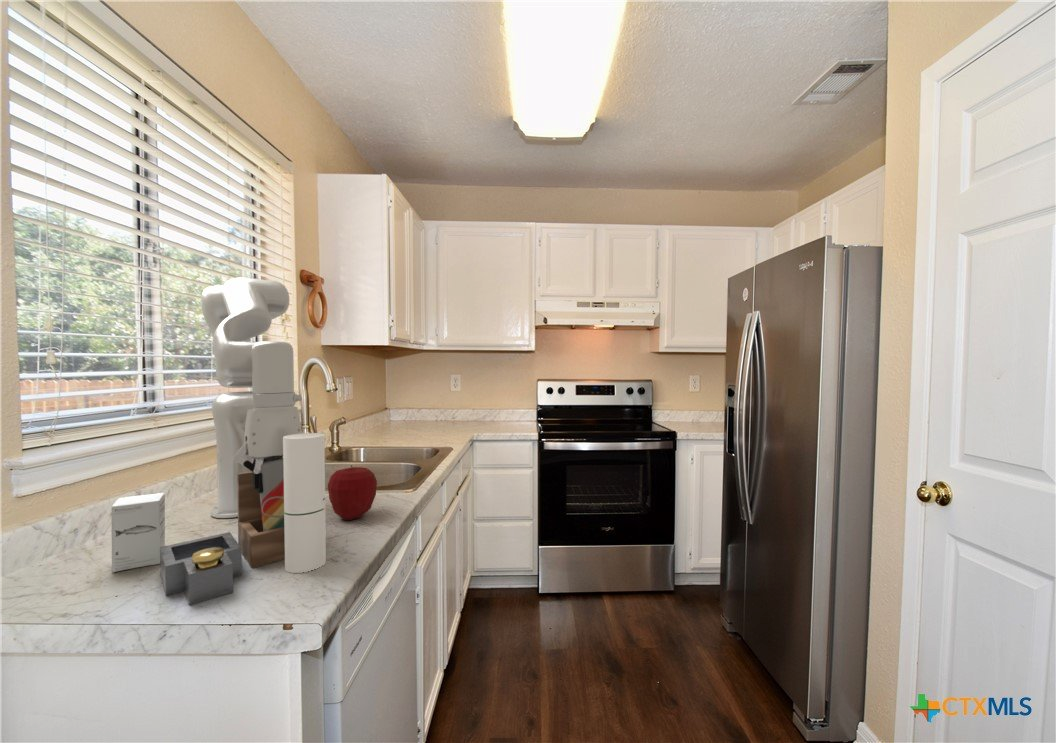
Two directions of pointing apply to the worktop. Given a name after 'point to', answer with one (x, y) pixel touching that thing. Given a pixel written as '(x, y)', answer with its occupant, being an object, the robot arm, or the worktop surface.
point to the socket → (205, 581)
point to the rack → (256, 527)
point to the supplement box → (137, 531)
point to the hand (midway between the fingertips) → (275, 488)
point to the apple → (352, 492)
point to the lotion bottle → (272, 493)
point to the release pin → (207, 557)
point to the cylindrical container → (304, 502)
